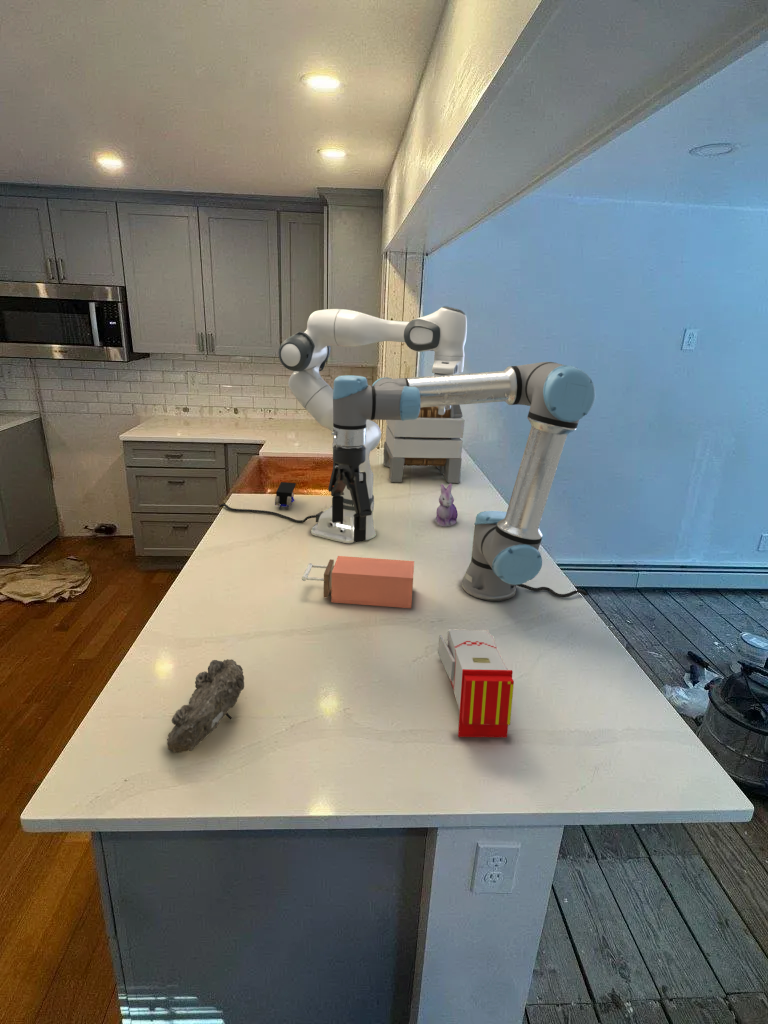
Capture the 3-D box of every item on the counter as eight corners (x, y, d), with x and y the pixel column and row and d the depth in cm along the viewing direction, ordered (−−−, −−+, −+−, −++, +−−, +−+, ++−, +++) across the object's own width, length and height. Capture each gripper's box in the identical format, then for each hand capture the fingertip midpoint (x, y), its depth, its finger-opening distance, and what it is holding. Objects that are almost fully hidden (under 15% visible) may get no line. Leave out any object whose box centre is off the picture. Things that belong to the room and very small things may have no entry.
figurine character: (292, 514, 217) (296, 498, 230) (291, 496, 214) (296, 480, 227) (274, 514, 217) (280, 497, 230) (273, 496, 213) (279, 480, 227)
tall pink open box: (331, 602, 152) (331, 572, 149) (337, 584, 162) (337, 555, 159) (411, 608, 151) (413, 578, 148) (412, 589, 161) (414, 561, 158)
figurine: (442, 528, 206) (446, 489, 201) (428, 519, 214) (431, 481, 209) (464, 525, 210) (468, 486, 205) (449, 516, 218) (452, 479, 213)
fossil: (192, 660, 117) (244, 628, 112) (224, 691, 120) (276, 661, 115) (142, 746, 98) (202, 712, 93) (182, 779, 101) (242, 748, 96)
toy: (488, 613, 130) (523, 677, 101) (484, 667, 133) (517, 744, 104) (435, 612, 130) (455, 676, 101) (432, 666, 133) (451, 743, 103)
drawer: (301, 595, 152) (301, 572, 150) (308, 579, 161) (308, 557, 159) (398, 603, 151) (399, 579, 149) (400, 586, 160) (401, 564, 158)
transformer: (382, 463, 289) (386, 382, 275) (445, 464, 293) (451, 384, 279) (390, 482, 257) (394, 392, 243) (460, 483, 261) (468, 394, 247)
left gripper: (444, 361, 178) (441, 406, 183) (430, 367, 160) (427, 416, 164) (464, 363, 176) (460, 408, 181) (453, 369, 158) (448, 418, 163)
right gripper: (315, 435, 139) (315, 516, 146) (356, 459, 118) (354, 553, 125) (343, 433, 142) (342, 512, 149) (388, 456, 121) (385, 547, 128)
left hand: (444, 412), depth 173 cm, fingers open, 8 cm apart
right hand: (348, 531), depth 137 cm, fingers open, 13 cm apart
